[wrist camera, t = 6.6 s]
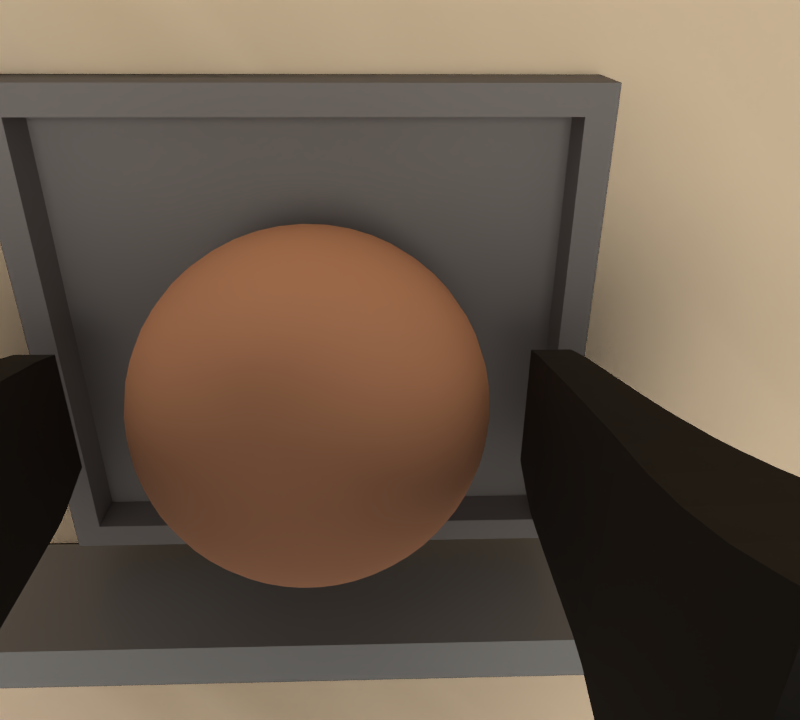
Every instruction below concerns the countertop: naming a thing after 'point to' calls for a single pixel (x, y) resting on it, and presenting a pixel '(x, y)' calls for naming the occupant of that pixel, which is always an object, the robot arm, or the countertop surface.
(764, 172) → the countertop surface
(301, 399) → the ball
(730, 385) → the countertop surface
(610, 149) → the charcoal dish
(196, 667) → the low fence
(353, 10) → the countertop surface
